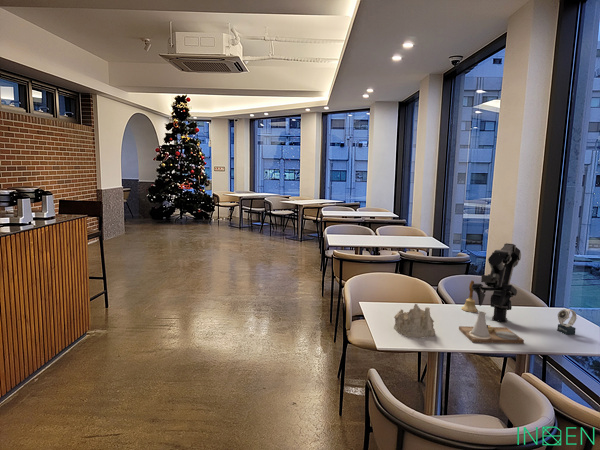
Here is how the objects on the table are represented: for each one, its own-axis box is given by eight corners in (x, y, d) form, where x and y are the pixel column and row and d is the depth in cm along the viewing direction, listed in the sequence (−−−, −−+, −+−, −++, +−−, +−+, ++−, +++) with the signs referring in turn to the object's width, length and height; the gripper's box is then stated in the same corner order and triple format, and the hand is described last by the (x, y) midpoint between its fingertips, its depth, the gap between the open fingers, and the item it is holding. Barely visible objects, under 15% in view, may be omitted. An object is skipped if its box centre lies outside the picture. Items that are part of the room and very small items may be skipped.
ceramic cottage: (440, 336, 185) (440, 302, 184) (406, 340, 181) (406, 306, 180) (421, 325, 200) (421, 294, 199) (389, 329, 196) (389, 297, 195)
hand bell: (475, 308, 227) (478, 279, 225) (479, 313, 219) (482, 283, 217) (459, 306, 228) (461, 278, 226) (463, 311, 220) (465, 282, 218)
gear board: (458, 329, 194) (459, 321, 193) (506, 330, 194) (506, 322, 194) (472, 342, 179) (473, 334, 179) (523, 343, 179) (524, 335, 179)
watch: (553, 330, 196) (556, 308, 194) (568, 329, 198) (570, 307, 196) (563, 335, 190) (566, 311, 189) (578, 334, 192) (581, 311, 191)
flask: (492, 336, 182) (494, 314, 180) (480, 338, 179) (482, 315, 178) (479, 330, 188) (481, 309, 187) (467, 332, 185) (469, 310, 184)
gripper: (469, 267, 198) (461, 297, 192) (508, 267, 183) (501, 299, 177) (481, 278, 203) (473, 307, 197) (520, 278, 188) (513, 311, 182)
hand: (489, 306), depth 188 cm, fingers open, 9 cm apart
